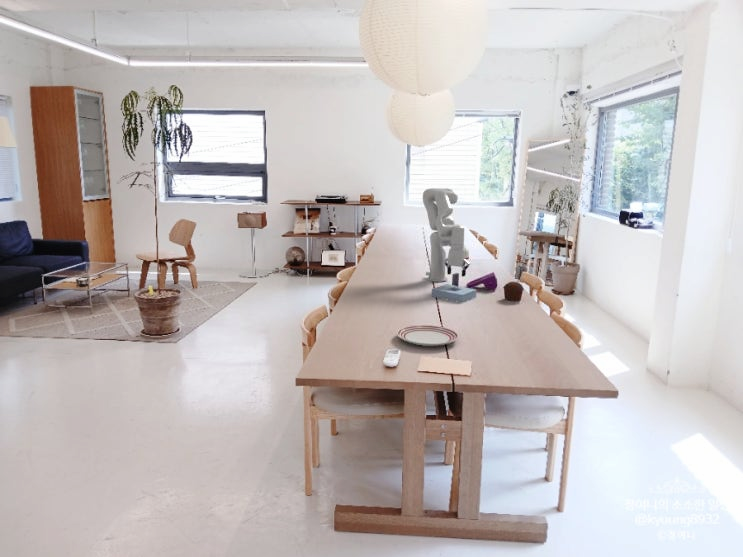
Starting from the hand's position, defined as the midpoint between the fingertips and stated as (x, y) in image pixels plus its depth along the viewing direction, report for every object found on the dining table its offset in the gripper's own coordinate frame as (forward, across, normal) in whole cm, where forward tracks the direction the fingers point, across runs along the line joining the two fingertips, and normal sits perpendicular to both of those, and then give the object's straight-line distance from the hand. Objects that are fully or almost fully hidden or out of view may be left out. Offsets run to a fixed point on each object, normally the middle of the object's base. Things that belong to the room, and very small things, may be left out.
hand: (456, 275), depth 332 cm
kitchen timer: (+6, -50, +92) cm, 105 cm away
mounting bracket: (+10, +9, +16) cm, 20 cm away
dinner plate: (+12, +36, -86) cm, 94 cm away
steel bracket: (+9, -1, +1) cm, 9 cm away
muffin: (+10, +35, +4) cm, 37 cm away
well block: (+10, +7, -14) cm, 19 cm away
